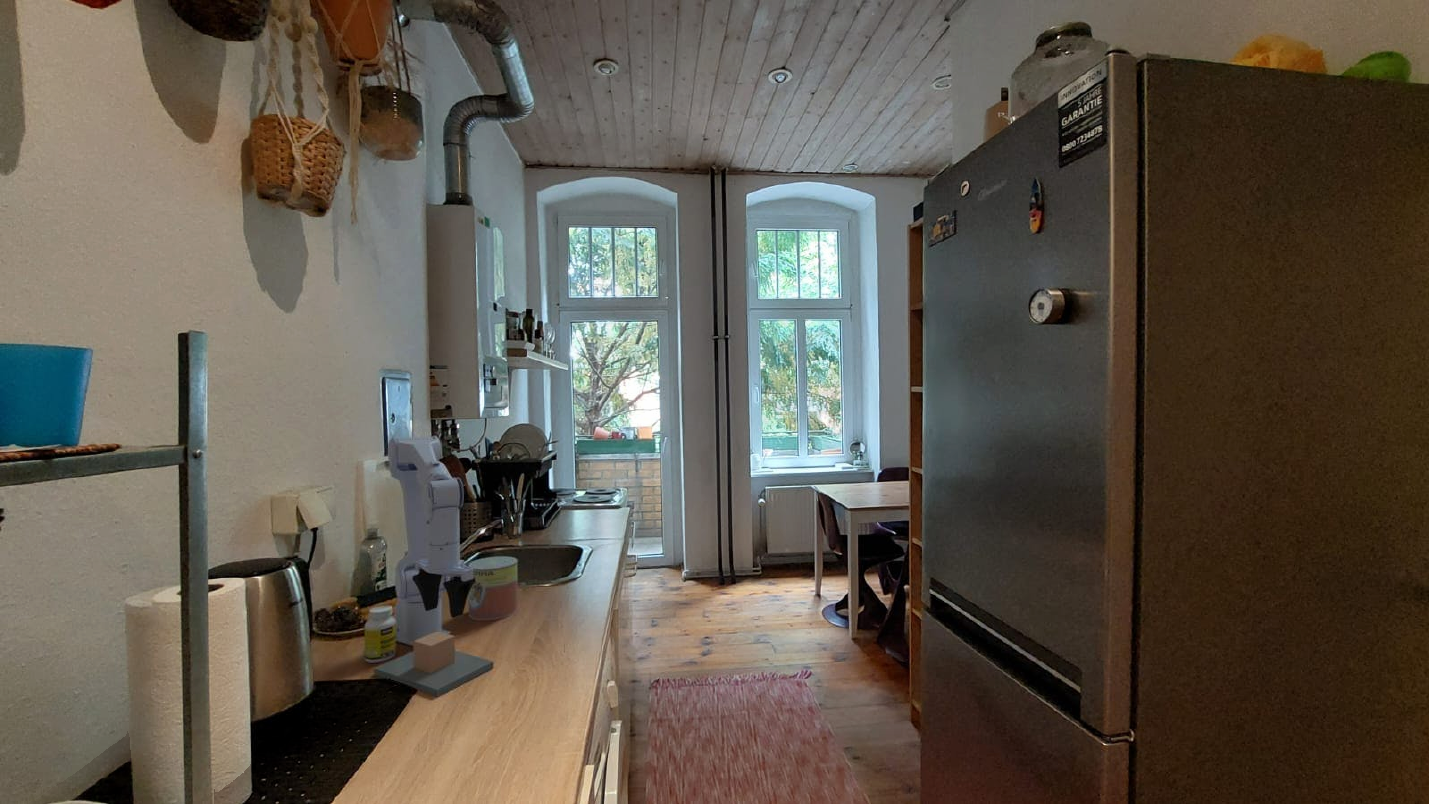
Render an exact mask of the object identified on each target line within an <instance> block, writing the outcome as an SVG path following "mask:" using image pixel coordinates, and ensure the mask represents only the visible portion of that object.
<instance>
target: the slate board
mask: <svg viewBox="0 0 1429 804" xmlns="http://www.w3.org/2000/svg"><path fill="white" fill-rule="evenodd" d="M492 669H494V661H493V660H490V659H486V658H484V657H483V658H482V657H479V656H476V655H472V654H469V653H464V652H462V651H458V650H455V662H454V663H452V664H450V665H448V666H446V667H444V668H441V669H439V670H437V671H435V672H433V673H429V672H426V671H423V670H420V669H416V668H414V651H412V652H409V653H407V654H404V655H402V656H400V657H397V658H395V659H393V660H390V661H387V662H385V663H383V664H380V665H378V666H376V667H374V668H373V675H374V676H378V677H380V678H384V679H385V678H388V679H391V680H394V681H397V682H400V683H403V684H406V685H408V686H411V687H413V688H412V689H414V688H415V689H414V690H417V691H420V692H423V693H426V694H428V695H431V696H433V697H440V696H441V695H444V694H445V693H447V692H449V691H451V690H454V689H455V688H457V687H460V686H462V685H463V684H465V683H467V682H468V681H471V680H472V679H474V678H476V677H479V676H481V675H482V674H484V673H487V672H488V671H490V670H492ZM388 679H387V680H388ZM391 680H390V681H391ZM394 681H393V682H394ZM397 682H396V683H397ZM400 683H399V684H400ZM408 686H407V687H408ZM411 687H410V688H411Z"/></svg>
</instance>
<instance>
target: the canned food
mask: <svg viewBox="0 0 1429 804" xmlns="http://www.w3.org/2000/svg"><path fill="white" fill-rule="evenodd" d="M518 561H519V560H518V558H516V557H514V556H507V555H499V556H497V555H496V556H489V557H482V558H478V559H475V560H473V561H471V562H469V563H468V564H467V567H469V568H473V577H475V582H474V584H473V586H472V588H471V590H470V592H469V594H468V618H470V619H472V620H475V621H494V620H499V619H503V618H507V617H510V616H512V615H514V614H515V613H517V612H518V610H519V603H518V601H519V599H518V598H519V597H518V596H519V594H518V591H519V590H518V585H519V584H518V583H519V582H518ZM513 613H514V614H513Z"/></svg>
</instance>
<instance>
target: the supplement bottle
mask: <svg viewBox="0 0 1429 804" xmlns="http://www.w3.org/2000/svg"><path fill="white" fill-rule="evenodd" d="M392 615H393V607H392V605H386V604H385V605H379V606H375V607H371V608H370V609H369V611H368V618H369V619H368V620H367V621H366V623H365V624H364V661H365V662H367V663H371V664H372V663H373V664H375V663H382V662H386V661H388V660H391V659H392V658H393V657H395V656H396V654H397V641H396V619H395V618H394V616H392Z"/></svg>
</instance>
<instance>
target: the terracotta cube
mask: <svg viewBox="0 0 1429 804" xmlns="http://www.w3.org/2000/svg"><path fill="white" fill-rule="evenodd" d="M455 639H456V638H455V635H453V634H450V635H449V634H445V633H442V632H438V631H437V632H435V633H432V634H430V635H427V636H425V637H422V638H420V639H417V640H415V641H414V646H413V652H414V668H416V669H420V670H423V671H426V672H429V673H433V672H435V671H437V670H439V669H441V668H444V667H446V666H448V665H450V664H452V663H454V662H455V651H456V644H455V643H456V641H455Z"/></svg>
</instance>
